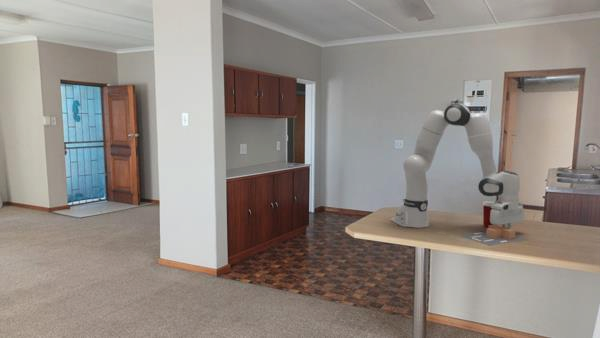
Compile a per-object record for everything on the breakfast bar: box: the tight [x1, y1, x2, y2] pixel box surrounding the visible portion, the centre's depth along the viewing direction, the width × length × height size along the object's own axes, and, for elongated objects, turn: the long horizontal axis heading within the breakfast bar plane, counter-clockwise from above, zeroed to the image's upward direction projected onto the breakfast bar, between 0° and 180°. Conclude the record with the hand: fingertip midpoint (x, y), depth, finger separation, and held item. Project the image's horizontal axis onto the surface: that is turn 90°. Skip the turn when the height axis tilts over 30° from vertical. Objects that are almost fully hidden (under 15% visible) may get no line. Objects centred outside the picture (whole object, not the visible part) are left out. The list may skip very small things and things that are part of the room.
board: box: [458, 230, 526, 246], centre depth 197 cm, size 18×25×1 cm
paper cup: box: [482, 200, 495, 229], centre depth 216 cm, size 8×8×14 cm
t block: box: [486, 225, 516, 240], centre depth 197 cm, size 12×10×4 cm
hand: (506, 231), depth 201 cm, fingers closed
